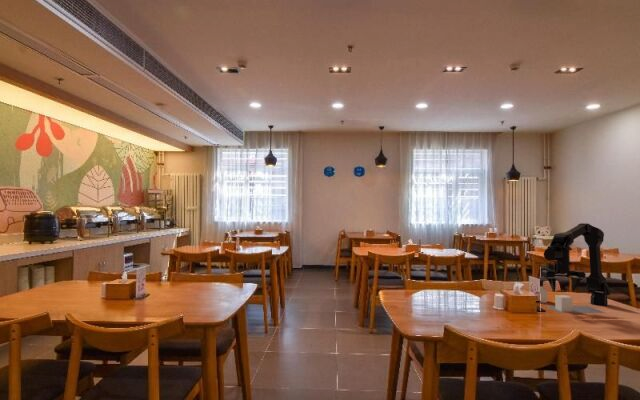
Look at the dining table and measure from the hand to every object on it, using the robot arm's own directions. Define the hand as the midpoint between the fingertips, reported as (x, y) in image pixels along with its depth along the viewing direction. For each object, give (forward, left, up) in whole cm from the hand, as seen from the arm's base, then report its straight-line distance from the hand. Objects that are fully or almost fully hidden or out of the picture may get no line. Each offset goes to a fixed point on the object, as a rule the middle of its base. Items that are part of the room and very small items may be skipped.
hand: (563, 291), depth 197 cm
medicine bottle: (+2, -21, -10) cm, 23 cm away
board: (-6, -2, -10) cm, 12 cm away
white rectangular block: (0, 0, -9) cm, 9 cm away
